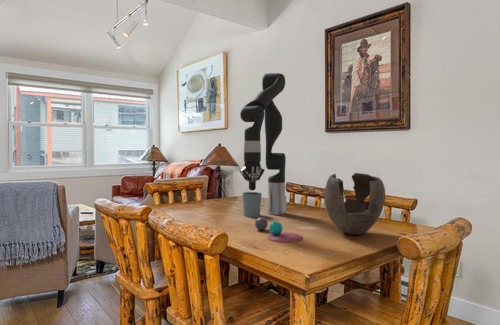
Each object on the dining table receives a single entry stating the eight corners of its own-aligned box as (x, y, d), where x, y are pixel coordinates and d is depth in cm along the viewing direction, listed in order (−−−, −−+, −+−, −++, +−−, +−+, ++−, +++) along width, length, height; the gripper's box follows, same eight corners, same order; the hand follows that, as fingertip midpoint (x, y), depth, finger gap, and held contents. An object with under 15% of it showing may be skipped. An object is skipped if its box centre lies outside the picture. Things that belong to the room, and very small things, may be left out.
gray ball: (268, 215, 148) (271, 228, 146) (260, 219, 152) (262, 231, 150) (259, 215, 145) (262, 228, 143) (251, 219, 148) (253, 231, 146)
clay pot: (339, 225, 157) (339, 171, 156) (393, 233, 141) (394, 174, 141) (314, 235, 138) (314, 174, 137) (372, 246, 123) (373, 177, 122)
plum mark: (285, 231, 145) (285, 231, 145) (310, 238, 134) (310, 237, 134) (260, 236, 136) (260, 236, 136) (284, 244, 125) (284, 243, 125)
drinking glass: (240, 216, 177) (239, 193, 177) (245, 213, 187) (245, 191, 186) (258, 217, 174) (258, 194, 174) (263, 214, 184) (263, 192, 183)
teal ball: (276, 219, 143) (285, 222, 138) (275, 232, 143) (284, 235, 139) (266, 220, 139) (275, 224, 135) (266, 233, 140) (275, 237, 135)
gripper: (245, 151, 143) (245, 192, 144) (269, 151, 151) (269, 189, 152) (235, 151, 149) (235, 190, 150) (258, 151, 157) (258, 188, 158)
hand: (252, 190), depth 151 cm, fingers closed
